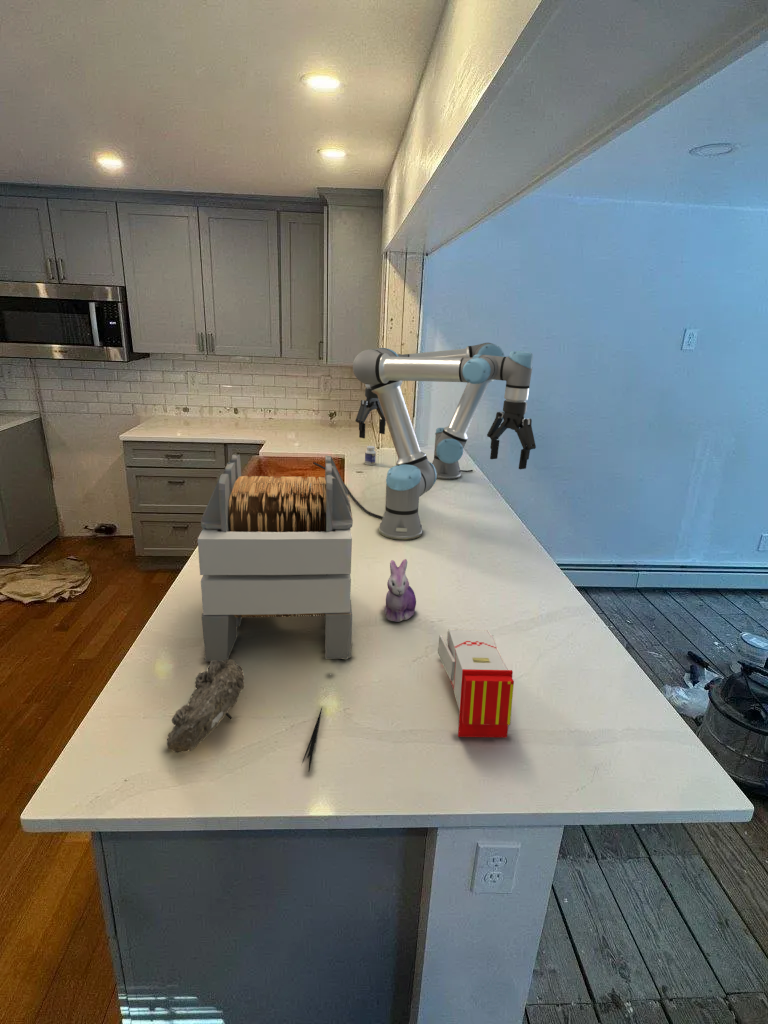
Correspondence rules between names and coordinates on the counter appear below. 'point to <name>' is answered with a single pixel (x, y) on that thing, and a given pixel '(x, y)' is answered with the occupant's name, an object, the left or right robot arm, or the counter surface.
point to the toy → (478, 682)
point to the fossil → (206, 705)
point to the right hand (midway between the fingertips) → (372, 435)
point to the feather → (313, 740)
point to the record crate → (276, 555)
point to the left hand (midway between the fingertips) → (507, 463)
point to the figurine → (399, 594)
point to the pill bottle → (370, 455)
